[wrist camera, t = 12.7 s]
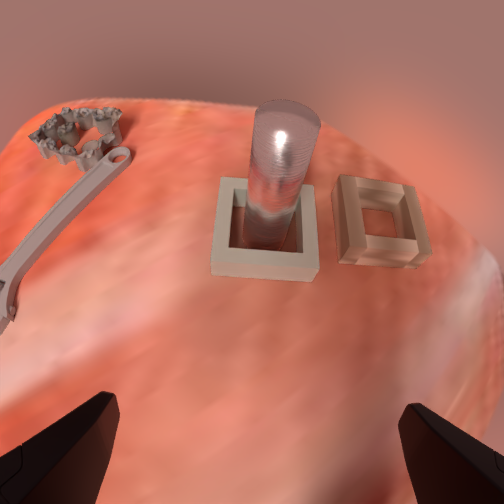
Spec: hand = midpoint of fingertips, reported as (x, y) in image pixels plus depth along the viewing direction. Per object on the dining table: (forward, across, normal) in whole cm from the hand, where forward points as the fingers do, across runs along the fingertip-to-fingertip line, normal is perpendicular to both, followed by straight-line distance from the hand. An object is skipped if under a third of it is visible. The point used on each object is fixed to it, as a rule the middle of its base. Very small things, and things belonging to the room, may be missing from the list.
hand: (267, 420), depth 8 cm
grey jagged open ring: (+28, +20, -8) cm, 35 cm away
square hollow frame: (+20, -1, -1) cm, 20 cm away
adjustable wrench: (+18, +19, +2) cm, 27 cm away
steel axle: (+20, -1, 0) cm, 20 cm away
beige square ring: (+21, -11, -2) cm, 24 cm away
